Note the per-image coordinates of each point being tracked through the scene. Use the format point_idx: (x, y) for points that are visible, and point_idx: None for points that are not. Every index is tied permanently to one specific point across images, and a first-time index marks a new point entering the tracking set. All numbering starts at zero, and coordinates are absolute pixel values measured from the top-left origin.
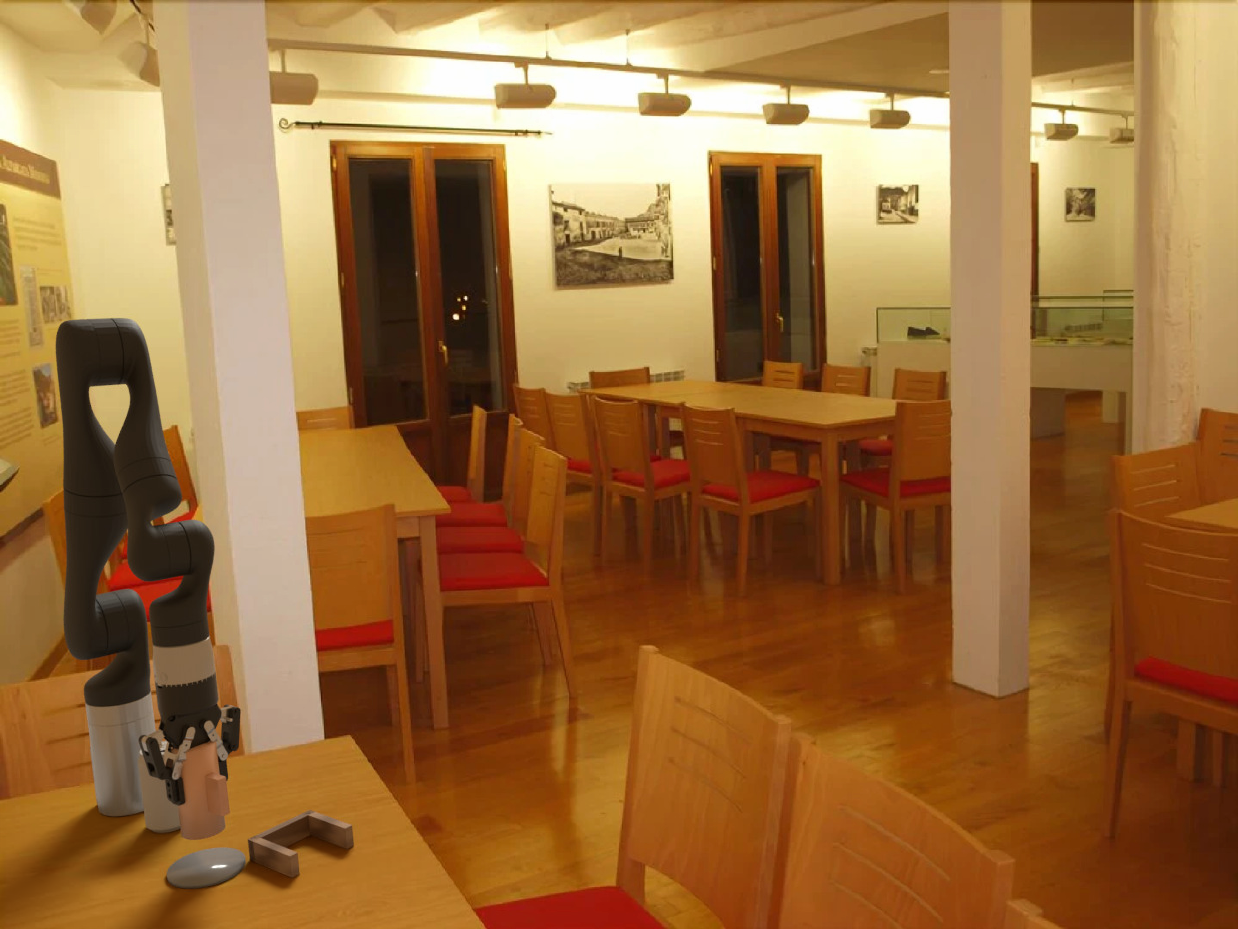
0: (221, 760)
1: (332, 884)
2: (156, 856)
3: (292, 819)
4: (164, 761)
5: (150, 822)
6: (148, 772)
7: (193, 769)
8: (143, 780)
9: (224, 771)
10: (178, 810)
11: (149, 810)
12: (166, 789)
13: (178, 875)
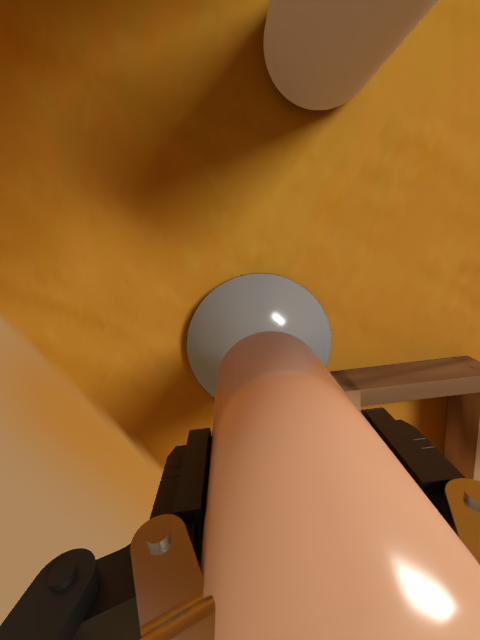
0: None
1: None
2: (219, 201)
3: (451, 384)
4: (139, 610)
5: (267, 50)
6: (27, 590)
7: None
8: None
9: None
10: (215, 404)
11: (273, 27)
12: (160, 484)
13: (204, 342)
